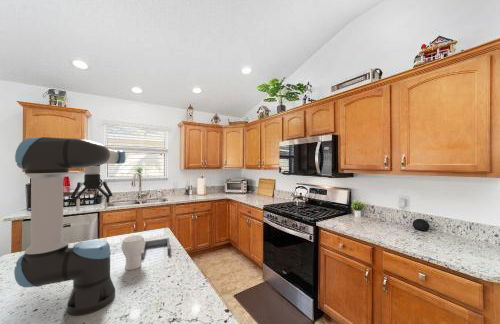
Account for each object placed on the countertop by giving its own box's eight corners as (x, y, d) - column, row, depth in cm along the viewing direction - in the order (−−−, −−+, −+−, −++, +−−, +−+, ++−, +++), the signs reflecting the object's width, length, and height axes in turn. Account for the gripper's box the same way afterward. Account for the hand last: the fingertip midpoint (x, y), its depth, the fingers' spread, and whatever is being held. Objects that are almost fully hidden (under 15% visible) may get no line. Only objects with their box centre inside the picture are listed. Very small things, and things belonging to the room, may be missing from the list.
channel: (169, 255, 123) (169, 248, 123) (140, 259, 117) (140, 252, 117) (169, 243, 141) (169, 237, 141) (144, 247, 135) (144, 241, 135)
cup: (148, 262, 114) (148, 235, 114) (136, 272, 104) (136, 242, 104) (130, 261, 115) (130, 234, 116) (116, 271, 105) (116, 241, 105)
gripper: (118, 173, 130) (118, 206, 130) (68, 174, 121) (68, 210, 121) (115, 173, 124) (115, 208, 123) (62, 174, 114) (62, 212, 114)
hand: (92, 209), depth 122 cm, fingers open, 13 cm apart
